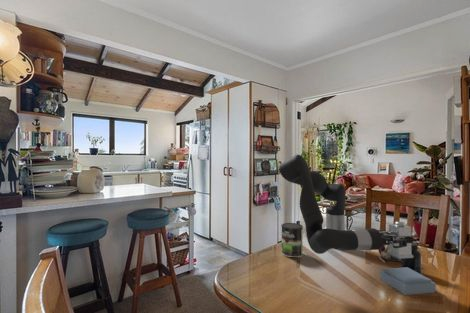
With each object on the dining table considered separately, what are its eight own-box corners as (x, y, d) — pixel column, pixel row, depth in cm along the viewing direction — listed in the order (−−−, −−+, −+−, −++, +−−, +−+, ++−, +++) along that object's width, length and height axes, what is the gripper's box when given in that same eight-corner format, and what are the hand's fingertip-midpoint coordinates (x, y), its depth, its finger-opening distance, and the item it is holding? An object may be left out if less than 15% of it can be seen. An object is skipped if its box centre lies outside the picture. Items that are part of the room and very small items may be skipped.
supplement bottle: (418, 270, 105) (417, 241, 105) (424, 277, 99) (424, 247, 99) (399, 268, 108) (398, 240, 108) (404, 275, 101) (403, 245, 101)
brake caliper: (398, 249, 123) (405, 234, 116) (406, 270, 114) (414, 255, 107) (373, 247, 125) (377, 232, 118) (379, 268, 117) (384, 253, 110)
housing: (398, 258, 90) (398, 224, 90) (387, 252, 96) (387, 220, 96) (413, 257, 91) (413, 224, 91) (400, 251, 97) (400, 220, 97)
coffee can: (296, 259, 117) (296, 229, 117) (277, 254, 124) (277, 225, 124) (306, 253, 125) (306, 225, 125) (288, 248, 132) (288, 221, 132)
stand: (404, 295, 87) (404, 283, 87) (380, 278, 99) (380, 268, 99) (435, 292, 88) (435, 280, 88) (407, 276, 100) (407, 266, 100)
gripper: (377, 235, 85) (422, 233, 87) (352, 223, 99) (392, 222, 101) (377, 257, 85) (423, 254, 87) (352, 242, 99) (392, 240, 101)
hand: (406, 237), depth 94 cm, fingers closed on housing, 5 cm apart
